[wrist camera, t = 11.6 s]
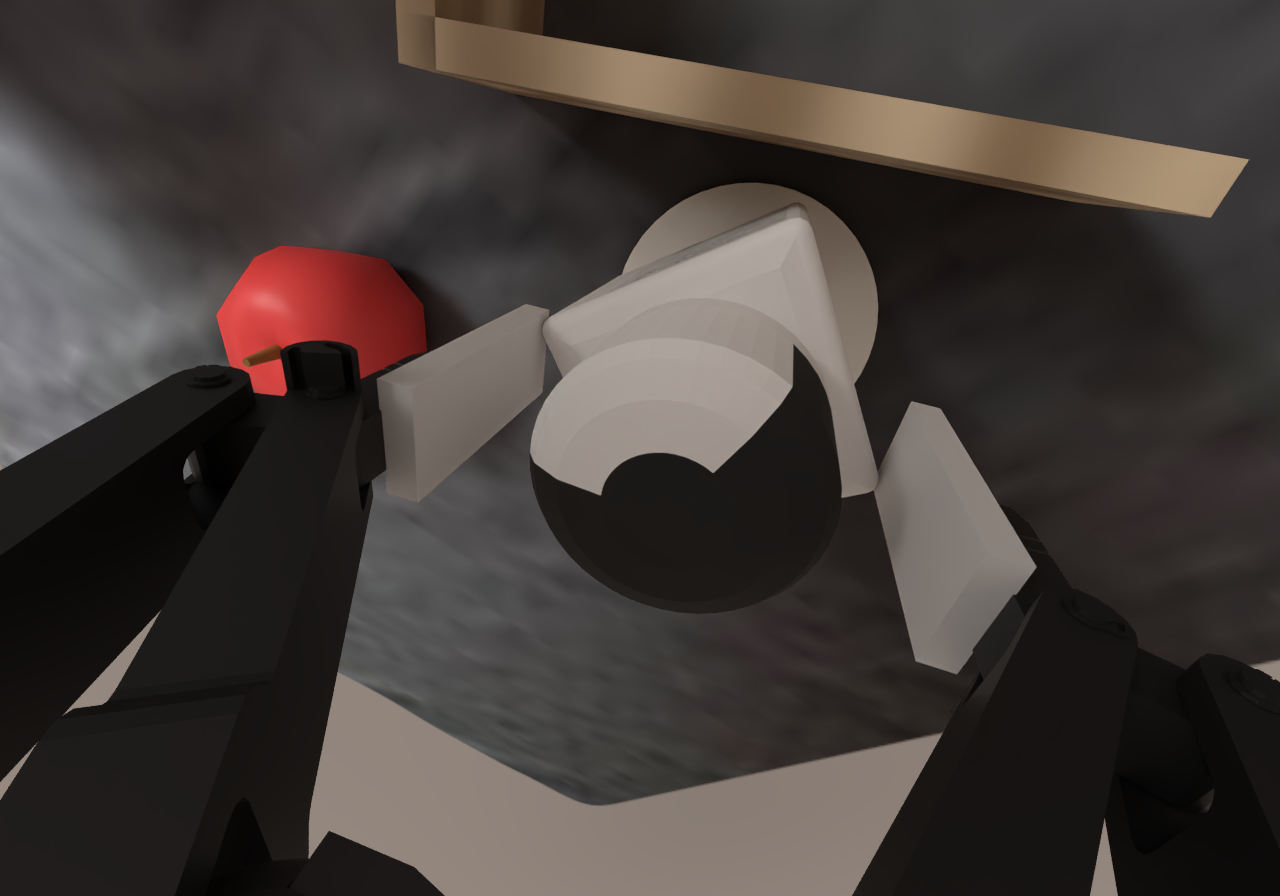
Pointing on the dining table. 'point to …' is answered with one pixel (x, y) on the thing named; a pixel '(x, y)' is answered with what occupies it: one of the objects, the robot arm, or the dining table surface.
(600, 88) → the tan open-ended frame
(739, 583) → the container
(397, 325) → the apple
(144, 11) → the dining table surface
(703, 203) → the trivet
